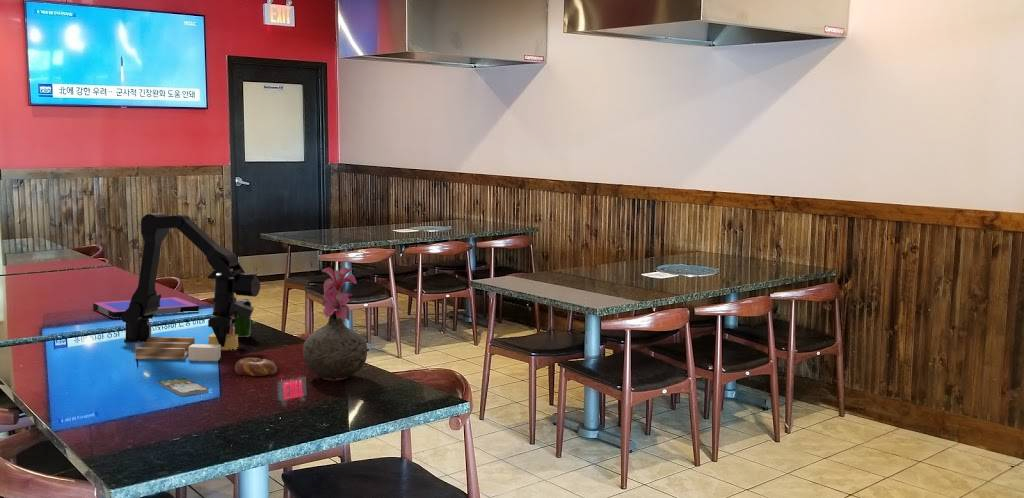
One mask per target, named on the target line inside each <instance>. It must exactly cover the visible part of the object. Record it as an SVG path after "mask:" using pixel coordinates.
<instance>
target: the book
mask: <svg viewBox="0 0 1024 498" xmlns="http://www.w3.org/2000/svg"><path fill="white" fill-rule="evenodd" d="M130 301H131V299H130V300H115V301H102V302H101V301H100V302H98V301H97V302H93V303H92V304H93V305H92V309H95V310H98V311H100V312H103V313H105V314H107V315H109V316H112V317H121V315H122V314H123V313H124V312H125V311H126V310H127V309H128V308H129V304H130ZM95 310H94V311H95ZM183 311H199V312H200V307H199V305H198V304H195V303H193V302H191V301H187V300H185V299H181V298H180V297H176V296H174V297H161V299H160V307H158V309H157V311H156V312H155V313H154V314H157V313H170V312H183Z"/></svg>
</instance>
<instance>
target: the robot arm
mask: <svg viewBox="0 0 1024 498" xmlns="http://www.w3.org/2000/svg"><path fill="white" fill-rule="evenodd" d="M173 228H174V229H177V230H178V231H179V232H181V233H182V235H183V236H185V238H187V239H188V240H189V241H190V242H191V243H192V244H193V245H194V246H195V247H196V248H197V249H199V251H201V253H203V254H204V257H205V258H206V261H207V263H208V264H209V265H210V266H211V268H212V269H213V271H212V272H211V273H210V274H208V275H207V279H211V280H214V287H213V288H214V294H213V295H214V297H213V298H212V302H213V311H212V316H211V317H210V318H209V319H208V320H207V327H209V328H211V329H212V331H213V334H215V336H216V338H217V340H218V342H219V345H221V347H224V345H225V340H226V335H227V334H230V330H231V327H232V326H233V323H234V322H235V321H236V319H233V316H235V317H236V318H237V317H238V316H241V317H243V318H244V319H248V320H249V318H250V317H251V318H252V314H253V313H254V309H255V308H254V306H252V302H250V301H247V300H246V301H245V302H244V303H239V302H236V299H237V297H236V296H243V297H244V296H245V297H252V298H253V297H257V296H258V295H259V293H260V291H261V283H260V280H259V278H258V274H257V273H246V272H245V270H244V269H243V267H242V266H241V264H240V262H239V261H238V260H239V257H238V256H237V255H236V254H235V253H234V252H233V251H232V250H230V249H228V248H226V247H224V246H222V245H220V244H218V243H216V241H214V240H213V239H212V238H211V237H210V236H209V235H208V234H207V233H206V232H205V231H204V230H202V229H201V227H199V226H198V225H197V224H196V223H195V222H194V221H193V220H191V217H190V216H189V215H187V214H184V213H183V214H175V215H166V214H165V213H164V212H163V213H162V212H155V213H148V214H145V215H143V216H142V218H141V221H140V234H141V236H142V239H143V248H142V255H141V262H140V270H139V278H138V283H137V288H136V289H135V290H134V293H133V294H132V295H131V298H130V300H131V301H130V304H129V308H128V309H127V310H126V311H125V312H124V313H123V314H122V315H121V318H122V319H121V321H122V323H125V338H124V339H123V342H130V343H131V342H139V343H141V342H142V343H143V342H148V337H152V324H151V323H150V320H153V317H154V316H153V315H154V313H155V312H156V311H157V309H158V307H160V299H161V298H162V294H161V293H160V294H159V293H157V290H156V283H157V282H156V281H157V276H158V270H159V269H158V268H159V262H160V257H161V256H160V254H161V250H162V249H161V248H162V243H163V242H164V240H165V238H166V237H167V235H168V233H169V229H173Z"/></svg>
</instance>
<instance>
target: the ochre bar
mask: <svg viewBox="0 0 1024 498" xmlns="http://www.w3.org/2000/svg"><path fill="white" fill-rule="evenodd" d="M208 345H219V342H218V340H217V338H216V336H215V333H210V334H209V336H208ZM237 347H238V348H239V338H238V334H233V333H232V334H231V333H229V334H227V335H226V340H225V345H224V347H221V351H237V350H236V349H238V348H237ZM229 349H230V350H229ZM232 349H234V350H232Z"/></svg>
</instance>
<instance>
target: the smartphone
mask: <svg viewBox="0 0 1024 498" xmlns="http://www.w3.org/2000/svg"><path fill="white" fill-rule="evenodd" d="M157 385H159V386H161V387H163V388H165V389H166V390H169V391H171V392H172V393H175V394H176V395H177V396H178V395H179V396H180V397H181V396H182V397H185V396H191V395H198V394H206V393H208V392H209V388H208V387H206V386H204V385H201V384H199V383H197V382H194V381H193V380H190V379H187V378H186V377H185V378H183V377H182V378H174V379H167V380H159V381H157Z"/></svg>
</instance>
